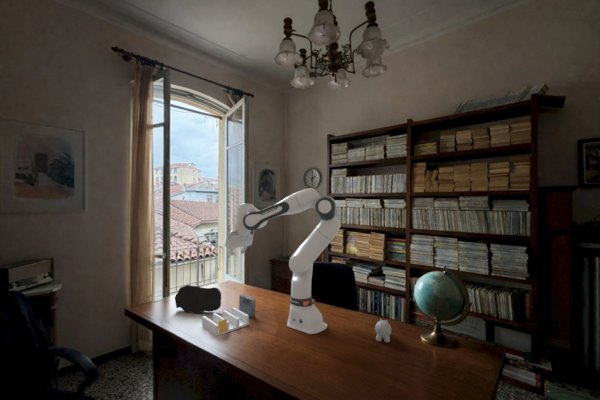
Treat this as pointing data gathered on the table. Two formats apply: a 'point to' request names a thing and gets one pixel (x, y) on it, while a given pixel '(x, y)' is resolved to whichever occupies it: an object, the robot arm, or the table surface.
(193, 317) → the table surface
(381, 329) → the toy rhinoceros
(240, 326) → the rack
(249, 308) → the blanking panel
